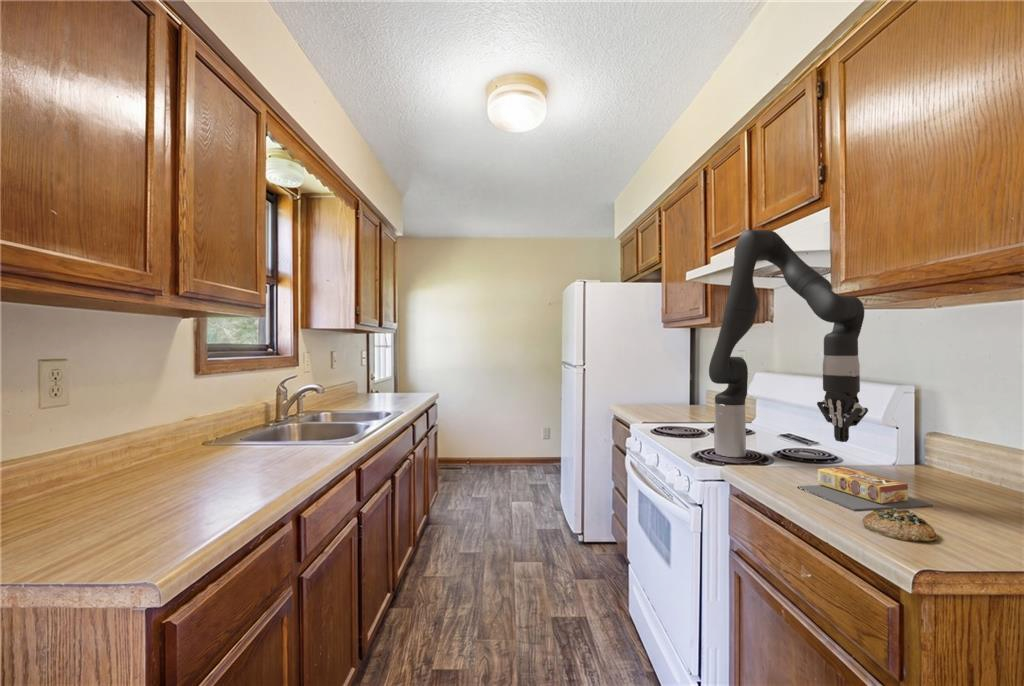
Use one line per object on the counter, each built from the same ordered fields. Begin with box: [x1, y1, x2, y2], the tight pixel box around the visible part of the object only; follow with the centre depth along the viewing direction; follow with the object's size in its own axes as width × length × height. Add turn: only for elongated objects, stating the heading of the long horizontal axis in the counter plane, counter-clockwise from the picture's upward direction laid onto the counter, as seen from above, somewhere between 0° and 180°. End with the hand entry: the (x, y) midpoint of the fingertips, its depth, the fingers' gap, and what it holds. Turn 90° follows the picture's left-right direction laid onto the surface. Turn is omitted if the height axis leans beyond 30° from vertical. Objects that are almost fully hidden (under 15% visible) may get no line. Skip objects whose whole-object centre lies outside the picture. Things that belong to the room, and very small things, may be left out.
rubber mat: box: [797, 484, 933, 512], centre depth 105 cm, size 16×20×1 cm
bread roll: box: [862, 508, 938, 542], centre depth 85 cm, size 11×11×5 cm
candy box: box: [817, 466, 909, 504], centre depth 106 cm, size 9×4×15 cm
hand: (841, 441), depth 110 cm, fingers closed
